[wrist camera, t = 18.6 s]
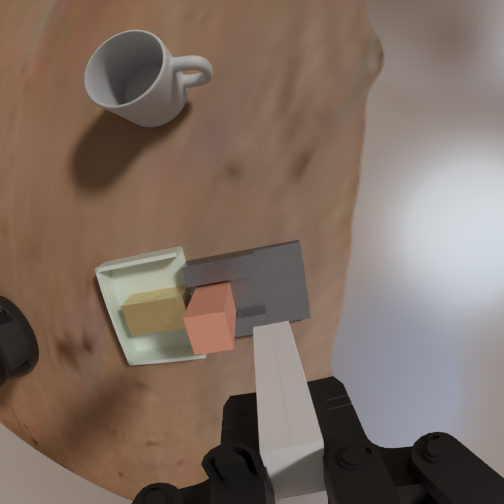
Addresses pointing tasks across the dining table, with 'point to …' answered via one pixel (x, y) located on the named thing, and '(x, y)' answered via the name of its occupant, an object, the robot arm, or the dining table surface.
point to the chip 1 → (140, 313)
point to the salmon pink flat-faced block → (211, 318)
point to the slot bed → (257, 283)
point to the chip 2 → (171, 307)
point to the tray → (137, 281)
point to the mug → (142, 78)
